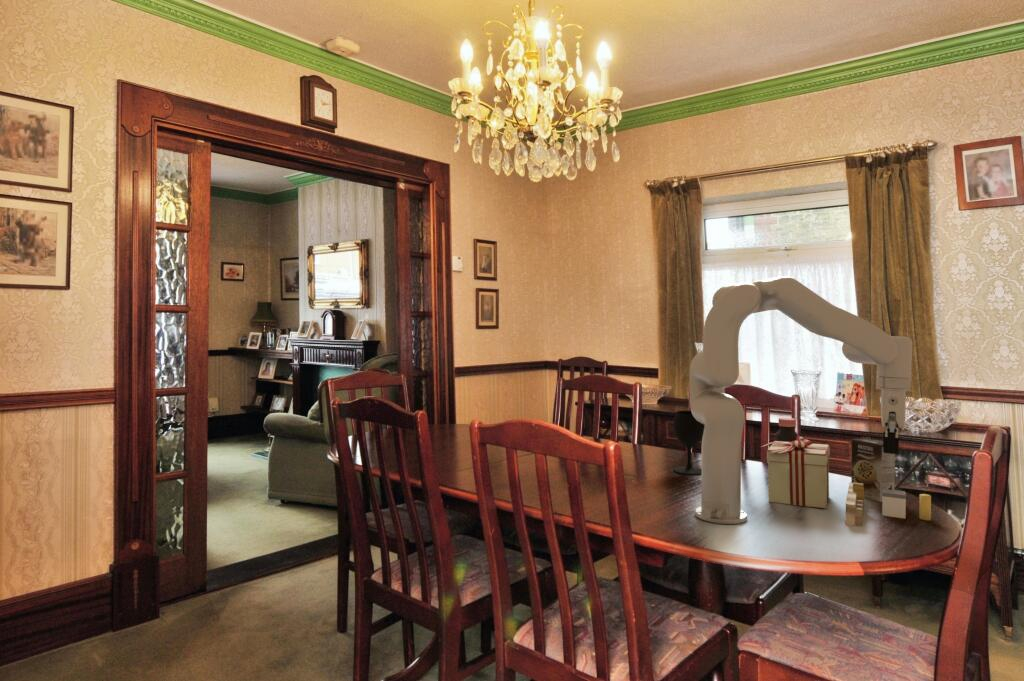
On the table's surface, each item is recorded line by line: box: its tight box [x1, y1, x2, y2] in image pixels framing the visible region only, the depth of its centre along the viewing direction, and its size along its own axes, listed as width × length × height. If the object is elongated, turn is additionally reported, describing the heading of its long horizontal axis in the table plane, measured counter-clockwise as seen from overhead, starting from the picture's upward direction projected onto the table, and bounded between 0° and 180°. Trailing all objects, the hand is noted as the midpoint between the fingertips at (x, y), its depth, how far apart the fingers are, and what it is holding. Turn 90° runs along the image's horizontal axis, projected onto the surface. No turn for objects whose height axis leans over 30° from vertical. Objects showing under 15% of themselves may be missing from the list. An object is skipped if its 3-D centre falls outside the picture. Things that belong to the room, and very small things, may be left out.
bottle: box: [774, 417, 800, 442], centre depth 187 cm, size 7×7×20 cm
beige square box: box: [881, 489, 907, 519], centre depth 155 cm, size 4×5×6 cm
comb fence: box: [844, 482, 865, 527], centre depth 157 cm, size 24×4×7 cm, turn 148°
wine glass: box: [672, 410, 705, 476], centre depth 202 cm, size 10×10×20 cm
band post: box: [918, 493, 932, 521], centre depth 151 cm, size 2×2×6 cm
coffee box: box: [850, 437, 896, 503], centre depth 171 cm, size 9×6×16 cm
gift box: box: [759, 435, 831, 510], centre depth 169 cm, size 17×18×17 cm
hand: (890, 450), depth 155 cm, fingers open, 9 cm apart
